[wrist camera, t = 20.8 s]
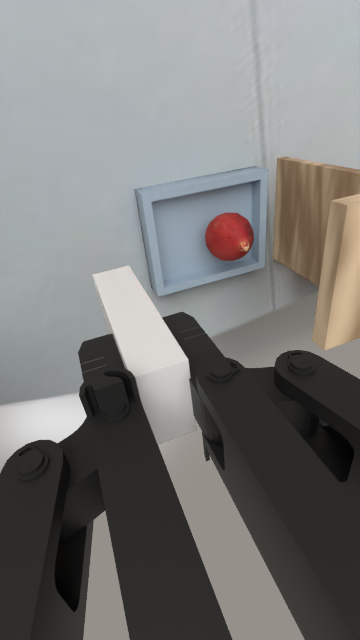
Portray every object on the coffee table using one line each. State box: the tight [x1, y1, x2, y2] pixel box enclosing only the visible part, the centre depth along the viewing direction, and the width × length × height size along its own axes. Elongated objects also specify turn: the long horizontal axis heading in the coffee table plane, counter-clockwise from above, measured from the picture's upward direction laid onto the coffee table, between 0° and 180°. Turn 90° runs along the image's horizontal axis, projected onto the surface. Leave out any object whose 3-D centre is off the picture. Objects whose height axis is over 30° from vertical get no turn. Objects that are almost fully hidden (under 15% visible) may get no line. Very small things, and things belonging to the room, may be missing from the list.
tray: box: [135, 166, 268, 297], centre depth 44 cm, size 16×13×3 cm
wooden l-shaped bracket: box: [273, 157, 360, 350], centre depth 39 cm, size 9×14×21 cm, turn 7°
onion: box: [205, 212, 254, 261], centre depth 42 cm, size 6×6×8 cm
